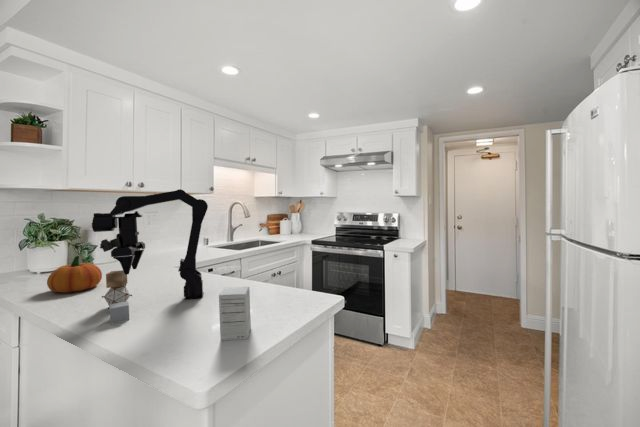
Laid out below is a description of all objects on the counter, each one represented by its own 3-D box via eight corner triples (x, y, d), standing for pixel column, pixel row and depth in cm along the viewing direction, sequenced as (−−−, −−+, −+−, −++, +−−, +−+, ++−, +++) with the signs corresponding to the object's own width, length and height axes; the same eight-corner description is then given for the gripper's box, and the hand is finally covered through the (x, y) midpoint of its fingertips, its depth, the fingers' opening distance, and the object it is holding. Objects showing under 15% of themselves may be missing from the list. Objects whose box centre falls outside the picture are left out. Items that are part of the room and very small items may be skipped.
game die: (119, 318, 107) (112, 301, 101) (100, 308, 109) (93, 292, 103) (139, 299, 114) (134, 283, 108) (121, 291, 116) (115, 274, 110)
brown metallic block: (127, 283, 111) (126, 270, 111) (122, 286, 107) (121, 272, 106) (112, 284, 110) (111, 271, 110) (106, 287, 105) (105, 274, 105)
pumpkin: (36, 294, 127) (34, 259, 127) (83, 282, 146) (82, 252, 145) (68, 297, 122) (66, 261, 121) (112, 284, 140) (111, 253, 140)
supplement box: (226, 329, 86) (224, 287, 86) (251, 328, 87) (250, 285, 86) (219, 341, 79) (217, 294, 79) (247, 339, 80) (246, 293, 79)
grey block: (128, 315, 99) (127, 301, 99) (129, 320, 95) (128, 305, 95) (110, 319, 96) (109, 304, 96) (110, 324, 92) (109, 308, 92)
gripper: (112, 229, 115) (114, 268, 116) (91, 233, 98) (94, 280, 98) (144, 227, 119) (146, 265, 119) (129, 231, 101) (132, 276, 102)
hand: (130, 271), depth 110 cm, fingers open, 9 cm apart
